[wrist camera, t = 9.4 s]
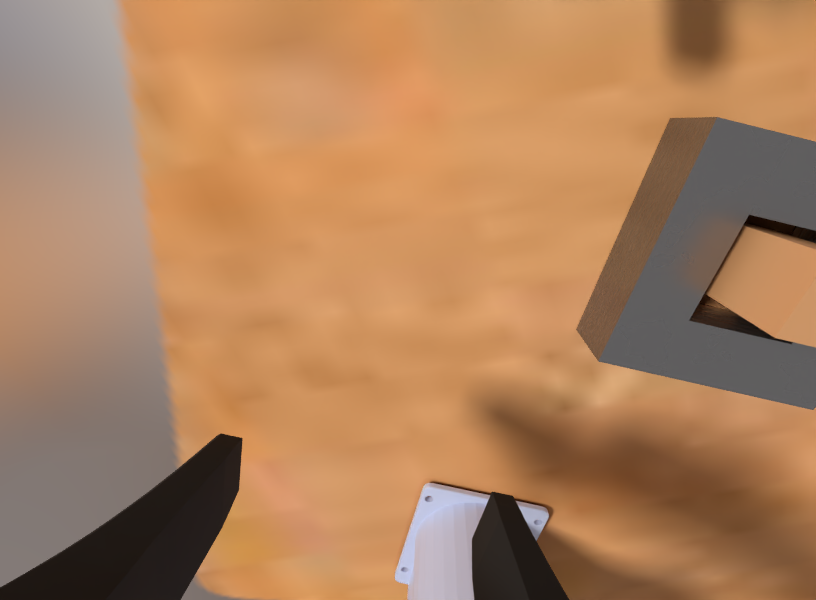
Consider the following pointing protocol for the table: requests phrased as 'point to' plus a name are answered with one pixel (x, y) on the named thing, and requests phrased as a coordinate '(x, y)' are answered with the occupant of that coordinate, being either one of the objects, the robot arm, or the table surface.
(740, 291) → the tan wooden block
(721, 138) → the grey square frame
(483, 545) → the robot arm
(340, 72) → the table surface
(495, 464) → the table surface
